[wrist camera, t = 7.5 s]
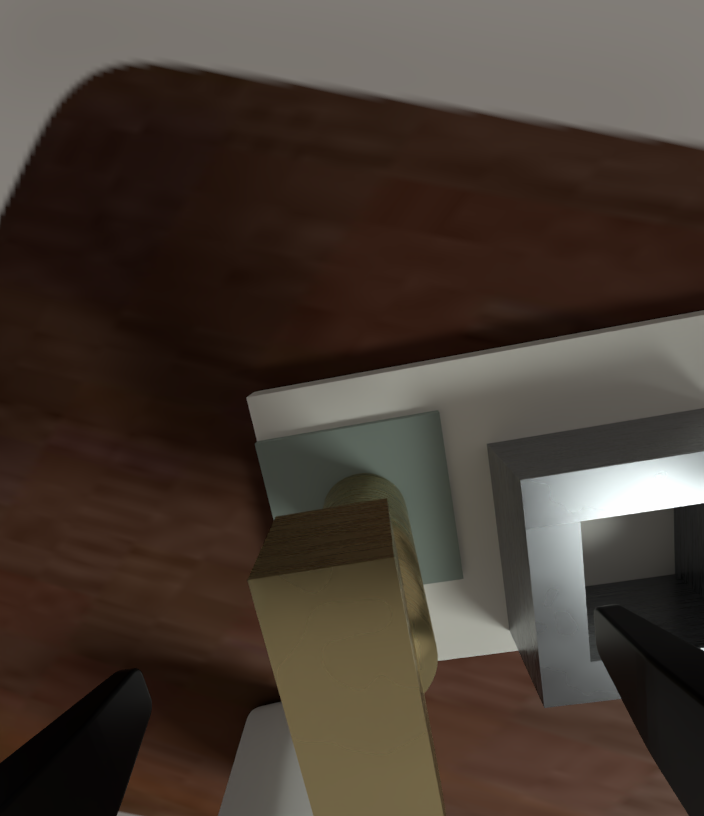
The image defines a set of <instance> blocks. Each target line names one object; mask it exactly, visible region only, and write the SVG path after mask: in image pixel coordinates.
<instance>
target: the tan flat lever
mask: <svg viewBox="0 0 704 816" xmlns="http://www.w3.org/2000/svg"><path fill="white" fill-rule="evenodd" d="M248 584H249V587H250V591H251V594H252V598H253V602H254V605H255V609H256V612H257V616H258V619H259V623H260V627H261V630H262V634H263V637H264V641H265V645H266V648H267V652H268V655H269V659H270V662H271V666H272V670H273V673H274V677H275V680H276V684H277V687H278V691H279V695H280V698H281V702H282V705H283V709H284V712H285V716H286V720H287V723H288V727H289V730H290V734H291V737H292V741H293V745H294V748H295V752H296V755H297V759H298V763H299V766H300V770H301V773H302V777H303V780H304V784H305V788H306V791H307V795H308V798H309V802H310V805H311V809H312V813H313V816H446V811H445V805H444V799H443V793H442V787H441V781H440V775H439V770H438V765H437V759H436V754H435V749H434V744H433V738H432V733H431V728H430V722H429V717H428V712H427V707H426V701H425V696H424V693H425V692H426V690H427V689H428V688H429V686H430V684H431V683H432V681H433V678H434V676H435V673H436V669H437V663H438V653H437V646H436V642H435V637H434V632H433V628H432V623H431V618H430V614H429V609H428V604H427V600H426V595H425V591H424V586H423V581H422V577H421V572H420V567H419V563H418V558H417V553H416V549H415V544H414V539H413V535H412V530H411V526H410V521H409V516H408V512H407V507H406V503H405V500H404V497H403V495H402V494H401V492H400V491H399V489H398V488H397V487H396V486H395V485H394V484H393V483H392V482H390V481H389V480H387V479H385V478H383V477H381V476H378V475H374V474H366V473H362V474H355V475H351V476H348V477H346V478H344V479H342V480H340V481H339V482H338V483H336V484H335V485H334V486H333V487H332V488H331V490H330V491H329V493H328V494H327V496H326V499H325V502H324V505H323V509H318V510H312V511H306V512H300V513H294V514H288V515H282V516H276V517H275V519H274V522H273V524H272V526H271V528H270V531H269V533H268V535H267V537H266V540H265V542H264V544H263V546H262V549H261V551H260V553H259V555H258V558H257V560H256V562H255V564H254V567H253V569H252V571H251V573H250V576H249V578H248Z"/></svg>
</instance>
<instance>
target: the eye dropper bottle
mask: <svg viewBox="0 0 704 816" xmlns="http://www.w3.org/2000/svg"><path fill="white" fill-rule="evenodd" d="M218 816H313V813H312V809H311V805H310V802H309V798H308V795H307V791H306V788H305V784H304V780H303V777H302V773H301V770H300V766H299V763H298V759H297V755H296V752H295V748H294V745H293V741H292V737H291V734H290V730H289V727H288V723H287V720H286V716H285V712H284V709H283V705H282V702H277V703H272V704H268V705H264V706H260V707H257V708H255V709H253V710H252V711H251V712H250V714H249V716H248V717H247V720H246V723H245V726H244V730H243V733H242V736H241V740H240V743H239V747H238V750H237V753H236V757H235V760H234V764H233V767H232V770H231V774H230V777H229V781H228V784H227V787H226V791H225V794H224V798H223V801H222V804H221V808H220V811H219V815H218Z"/></svg>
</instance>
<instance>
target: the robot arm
mask: <svg viewBox="0 0 704 816" xmlns="http://www.w3.org/2000/svg"><path fill="white" fill-rule="evenodd" d="M594 625H595V639H596V647H597V650H598V653H599V656H600V658H601V660H602V662H603V664H604V666H605V668H606V670H607V672H608V674H609V676H610V678H611V680H612V681H613V683H614V685H615V687H616V689H617V691H618V693H619V695H620V697H621V699H622V701H623V703H624V705H625V707H626V709H627V711H628V712H629V714H630V716H631V718H632V720H633V722H634V724H635V726H636V728H637V730H638V732H639V734H640V736H641V738H642V739H643V741H644V743H645V745H646V747H647V749H648V751H649V752H650V754H651V756H652V757H653V759H654V761H655V762H656V764H657V765H658V767H659V769H660V770H661V772H662V774H663V775H664V777H665V778H666V780H667V781H668V783H669V785H670V786H671V788H672V789H673V791H674V793H675V794H676V796H677V797H678V799H679V801H680V802H681V804H682V805H683V807H684V808H685V810H686V812H687V813H688V815H689V816H704V651H703V650H701V649H700V648H698V647H696V646H694V645H692V644H690V643H689V642H687V641H685V640H683V639H681V638H679V637H678V636H676V635H674V634H672V633H670V632H668V631H667V630H665V629H663V628H661V627H659V626H657V625H656V624H654V623H652V622H650V621H648V620H646V619H645V618H643V617H641V616H639V615H637V614H636V613H634V612H632V611H630V610H628V609H626V608H625V607H623V606H621V605H618V604H612V605H604V606H598V607H596V608H595V610H594ZM151 710H152V700H151V697H150V694H149V691H148V688H147V685H146V683H145V680H144V677H143V674H142V672H141V671H140V670H139V669H136V668H133V669H125V670H120V671H117V672H115V673H114V674H113V675H111V676H110V677H109V678H108V679H106V680H105V681H104V682H103V683H101V684H100V685H99V686H97V687H96V688H95V689H94V690H92V691H91V692H90V693H89V694H87V695H86V696H85V697H84V698H82V699H81V700H80V701H78V702H77V703H76V704H75V705H73V706H72V707H71V708H70V709H68V710H67V711H66V712H65V713H63V714H62V715H61V716H59V717H58V718H57V719H56V720H54V721H53V722H52V723H51V724H49V725H48V726H47V727H46V728H44V729H43V730H42V731H40V732H39V733H38V734H37V735H35V736H34V737H33V738H32V739H30V740H29V741H28V742H26V743H25V744H24V745H23V746H21V747H20V748H19V749H18V750H16V751H15V752H14V753H13V754H11V755H10V756H9V757H7V758H6V759H5V760H4V761H2V762H1V763H0V816H117V813H118V811H119V808H120V805H121V803H122V800H123V797H124V794H125V791H126V788H127V785H128V782H129V779H130V776H131V773H132V770H133V767H134V764H135V761H136V758H137V755H138V752H139V749H140V746H141V742H142V739H143V736H144V733H145V730H146V727H147V724H148V721H149V718H150V715H151Z"/></svg>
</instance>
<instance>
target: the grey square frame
mask: <svg viewBox="0 0 704 816" xmlns="http://www.w3.org/2000/svg"><path fill="white" fill-rule="evenodd" d="M487 450H488V459H489V467H490V475H491V483H492V491H493V500H494V508H495V516H496V524H497V533H498V541H499V549H500V557H501V566H502V574H503V582H504V590H505V598H506V607H507V615H508V623H509V631H510V633H511V635H512V637H513V640H514V642H515V644H516V646H517V649H518V651H519V653H520V655H521V657H522V660H523V662H524V664H525V666H526V668H527V671H528V673H529V675H530V677H531V679H532V682H533V684H534V686H535V688H536V690H537V693H538V695H539V697H540V699H541V702H542V704H543V706H544V708H547V707H555V706H564V705H572V704H581V703H589V702H597V701H606V700H614V699H621V697H620V695H619V693H618V691H617V689H616V687H615V685H614V683H613V681H612V680H611V678H610V676H609V674H608V672H607V670H606V668H605V666H604V664H603V662H602V660H601V658H600V656H599V653H598V650H597V647H596V639H595V625H594V610H595V608H596V607H598V606H604V605H612V604H618V605H621V606H623V607H625V608H626V609H628V610H630V611H632V612H634V613H636V614H637V615H639V616H641V617H643V618H645V619H646V620H648V621H650V622H652V623H654V624H656V625H657V626H659V627H661V628H663V629H665V630H667V631H668V632H670V633H672V634H674V635H676V636H678V637H679V638H681V639H683V640H685V641H687V642H689V643H690V644H692V645H694V646H696V647H698V648H700V649H701V650H703V651H704V408H701V409H695V410H689V411H683V412H677V413H671V414H665V415H659V416H653V417H647V418H641V419H635V420H628V421H622V422H616V423H610V424H604V425H598V426H592V427H586V428H580V429H574V430H568V431H562V432H556V433H550V434H544V435H538V436H532V437H525V438H519V439H513V440H507V441H501V442H495V443H489V444H487ZM667 508H674V551H675V574H672V575H664V576H657V577H650V578H643V579H635V580H628V581H621V582H613V583H606V584H599V585H592V586H585V578H584V565H583V551H582V537H581V523H580V521H587V520H593V519H600V518H607V517H613V516H620V515H627V514H634V513H640V512H647V511H654V510H660V509H667Z"/></svg>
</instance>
